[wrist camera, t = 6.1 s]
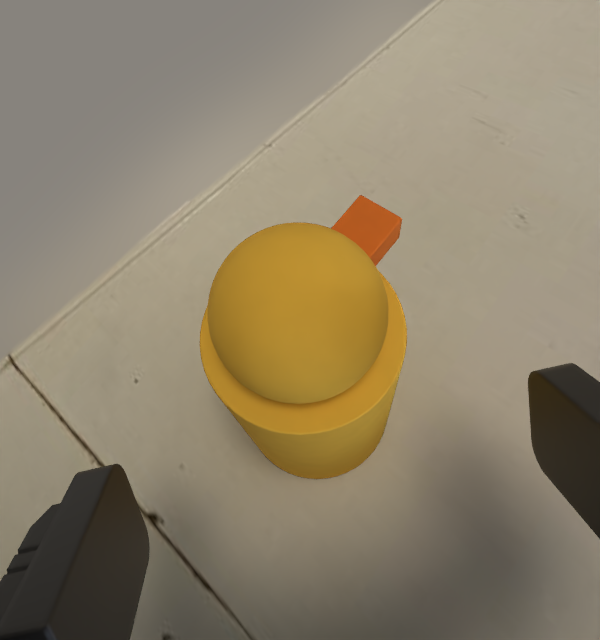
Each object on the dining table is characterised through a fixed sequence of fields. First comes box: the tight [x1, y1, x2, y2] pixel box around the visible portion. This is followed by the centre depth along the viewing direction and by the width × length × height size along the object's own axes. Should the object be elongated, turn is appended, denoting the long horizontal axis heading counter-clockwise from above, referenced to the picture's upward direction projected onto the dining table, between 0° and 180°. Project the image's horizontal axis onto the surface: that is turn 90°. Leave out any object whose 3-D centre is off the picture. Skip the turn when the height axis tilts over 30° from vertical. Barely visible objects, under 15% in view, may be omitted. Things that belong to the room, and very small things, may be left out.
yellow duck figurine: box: [200, 195, 407, 479], centre depth 15 cm, size 6×5×10 cm
